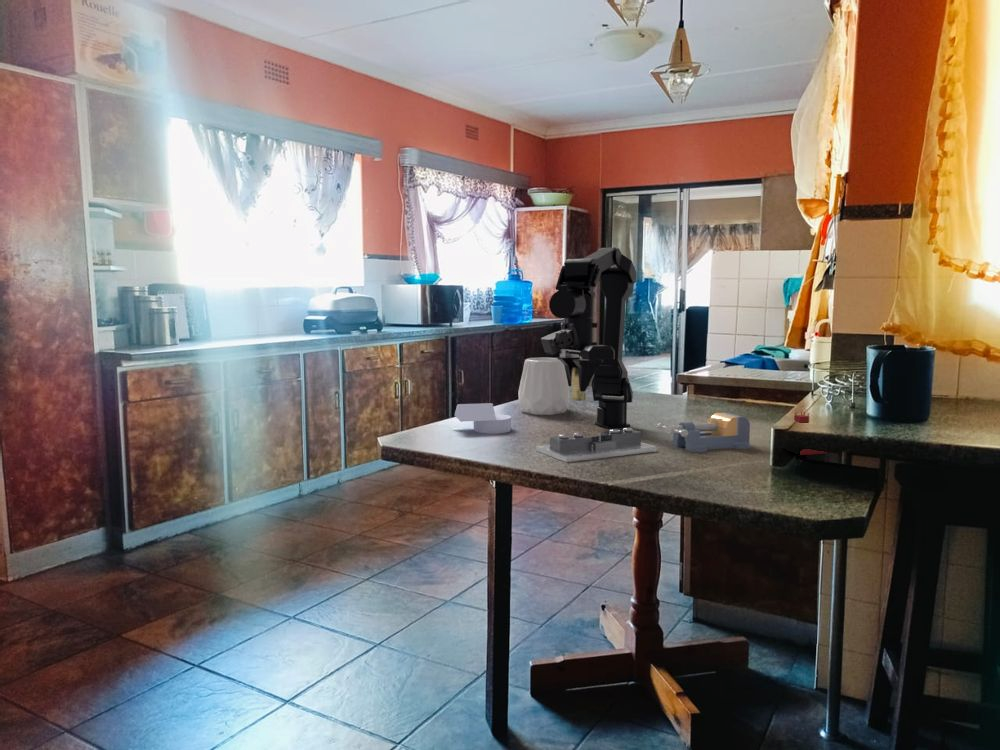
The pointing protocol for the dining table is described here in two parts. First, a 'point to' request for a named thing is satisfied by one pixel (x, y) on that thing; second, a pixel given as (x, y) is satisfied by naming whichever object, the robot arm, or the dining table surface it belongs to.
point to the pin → (576, 386)
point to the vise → (711, 433)
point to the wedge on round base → (483, 418)
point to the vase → (543, 387)
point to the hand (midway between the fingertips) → (578, 390)
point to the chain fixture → (596, 445)
